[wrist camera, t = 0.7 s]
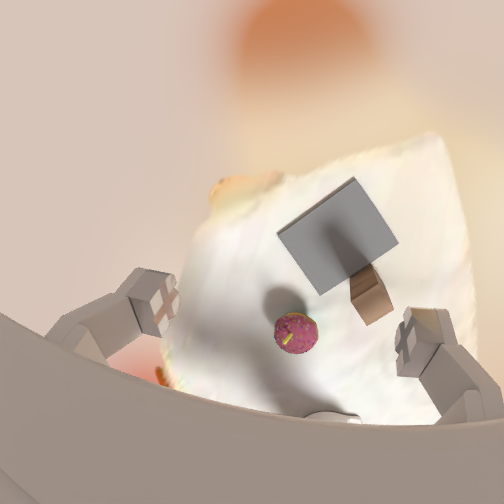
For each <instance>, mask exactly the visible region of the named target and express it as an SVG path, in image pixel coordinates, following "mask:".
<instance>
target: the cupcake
mask: <svg viewBox="0 0 504 504" xmlns="http://www.w3.org/2000/svg"><path fill="white" fill-rule="evenodd" d="M274 337H275V340H276V343H277V344H278V345H279V347H281V349H283V350H285V351H286V352H288V353H291V354H292V353H293V354H301V353H304V352H307V351H308V350H310V349H311V348H312V347H313V346H314V345H315V344H316V342H317V340H318V329H317V325H316V322H315V321H313V320H312V319H311V318H309V317H308V316H306V315H305V314H302V313H299V312H293V313H287V314H286V315H284V316H283V317H281V318H280V319H278V320H277V322H276V324H275V332H274Z"/></svg>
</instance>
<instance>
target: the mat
mask: <svg viewBox="0 0 504 504" xmlns="http://www.w3.org/2000/svg"><path fill="white" fill-rule="evenodd" d="M278 237H279V239H280V240H281V241H282V243H283V244H284V245H285V247H286V248H287V250H288V251H289V252H290V254H291V255H292V257H293V258H294V259H295V261H296V262H297V264H298V265H299V267H300V268H301V269H302V271H303V272H304V274H305V275H306V276H307V278H308V279H309V281H310V282H311V284H312V285H313V286H314V288H315V289H316V291H317V292H318V294H319V295H322V294H324V293H325V292H327V291H328V290H330V289H332V288H333V287H335V286H336V285H338V284H339V283H341V282H343V281H344V280H346V279H347V278H349V277H350V276H352V275H353V274H355V273H356V272H358V271H359V270H361V269H362V268H364V267H365V266H367V265H368V264H370V263H371V262H373V261H374V260H376V259H377V258H379V257H380V256H382V255H383V254H384V253H386V252H387V251H389V250H390V249H392V248H393V247H395V246H396V245H397V244H399V243H398V241H397V240H396V238H395V236H394V235H393V233H392V232H391V230H390V229H389V227H388V225H387V224H386V222H385V221H384V219H383V218H382V216H381V215H380V213H379V212H378V210H377V209H376V207H375V206H374V204H373V203H372V201H371V200H370V198H369V197H368V195H367V194H366V193H365V191H364V190H363V188H362V187H361V185H360V184H359V183H358V181H357V180H354V181H353V182H351V183H350V184H349V185H347V186H346V187H345V188H343V189H342V190H340V191H339V192H338V193H336V194H335V195H334V196H332V197H331V198H329V199H328V200H327V201H325V202H324V203H322V204H321V205H320V206H318V207H317V208H316V209H314V210H313V211H311V212H310V213H309V214H307V215H306V216H305V217H303V218H302V219H300V220H299V221H298V222H296V223H295V224H293V225H292V226H291V227H289V228H288V229H287V230H285V231H284V232H282V233H281V234H280V235H278Z"/></svg>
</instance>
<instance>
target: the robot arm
mask: <svg viewBox="0 0 504 504" xmlns="http://www.w3.org/2000/svg"><path fill="white" fill-rule="evenodd" d="M175 285H176V279H175V276H174V275H173V274H169V273H164V272H159V271H154V270H148V269H143V268H136V269H134V271H133V272H132V273H131V274H130V275H129V276H128V278H127V279H126V280H125V281H124V282H123V283H122V285H121V286H120V287H119V288H118V289H117V291H116V292H115V293H110V294H107V295H105V296H103V297H101V298H99V299H97V300H95V301H93V302H90V303H88V304H86V305H84V306H82V307H80V308H78V309H76V310H74V311H71V312H69V313H67V314H65V315H63V316H62V317H61V318H60V319H59V320H58V321H57V323H56V324H55V325H54V326H53V327H52V328H51V330H50V331H49V332H48V333H47V335H46V336H45V337H43V336H41V335H39V334H37V333H35V332H33V331H32V330H30V329H28V328H26V327H24V326H23V325H21V324H19V323H17V322H16V321H14V320H12V319H10V318H9V317H7V316H5V315H4V314H2V313H0V504H504V403H503V398H502V394H501V390H500V387H499V386H498V385H497V383H496V382H495V381H494V380H493V379H492V378H491V377H490V376H489V374H488V373H487V372H486V371H485V370H484V369H483V368H482V367H481V365H480V364H479V363H478V362H477V361H476V360H475V359H474V358H473V357H472V356H471V355H470V354H469V352H468V351H467V350H466V349H465V348H464V347H463V346H462V345H458V343H457V339H456V336H455V332H454V329H453V325H452V322H451V319H450V315H449V312H448V311H447V310H446V309H435V308H434V309H432V308H420V307H409V306H408V307H407V308H406V309H405V312H404V314H403V317H404V321H403V322H401V323H400V324H399V326H398V328H397V331H396V336H395V351H396V352H397V353H398V354H399V356H398V358H397V360H396V367H397V376H401V377H415V378H419V380H420V382H421V383H422V385H423V387H424V388H425V390H426V391H427V393H428V395H429V396H430V398H431V399H432V401H433V403H434V404H435V406H436V408H437V409H438V411H439V413H440V414H441V416H442V417H441V418H440V419H439V420H438V421H437V422H436V423H435V424H434V425H372V424H362V421H361V419H360V417H358V416H346V415H342V414H339V413H335V412H317V413H313V414H311V415H308V416H307V417H305V418H299V417H292V416H286V415H280V414H274V413H269V412H263V411H258V410H253V409H248V408H243V407H239V406H234V405H230V404H226V403H222V402H217V401H213V400H210V399H206V398H202V397H198V396H195V395H191V394H188V393H184V392H181V391H177V390H174V389H171V388H168V387H164V386H161V385H158V384H155V383H152V382H149V381H146V380H143V379H140V378H138V377H135V376H132V375H129V374H127V373H124V372H121V371H119V370H116V369H114V368H111V367H110V365H109V364H108V362H107V361H106V359H107V358H108V357H110V356H111V355H113V354H114V353H116V352H117V351H118V350H120V349H122V348H123V347H124V346H126V345H127V344H129V343H130V342H132V341H133V340H135V339H136V338H138V337H139V336H141V335H142V333H144V334H148V335H152V336H156V337H160V338H162V337H163V335H164V334H165V332H166V330H167V329H168V327H169V321H168V320H169V319H171V318H173V317H175V315H176V313H177V311H178V308H179V304H180V296H179V292H178V291H177V290H176V289H175V288H174V286H175ZM356 423H357V424H356Z"/></svg>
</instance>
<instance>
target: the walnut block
mask: <svg viewBox="0 0 504 504" xmlns="http://www.w3.org/2000/svg"><path fill="white" fill-rule="evenodd" d="M350 294H351V302H352V304H353V305H354V307H355V309H356V310H357V312H358V313H359V315H360V316H361V318H362V319H363V321H364V322H365V324H366V326H368V325H370V324H371V323H373V322H375V321H376V320H378V319H380V318H381V317H383V316H385V315H386V314H388V313H389V312H391V311H393V310H394V308H393V306H392V303H391V300H390V298H389V295H388V293H387V290H386V287H385V285H384V284H383V282H382V280H381V279H380V277H379V276H378V274H377V272H376V271H375V269H374V268H373V266H372V264H371V265H370V266H368V267H367V268H365V269H364V270H362V271H361V272H359V273H358V274H356V275H355V276H353V277H352V278H350Z"/></svg>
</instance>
